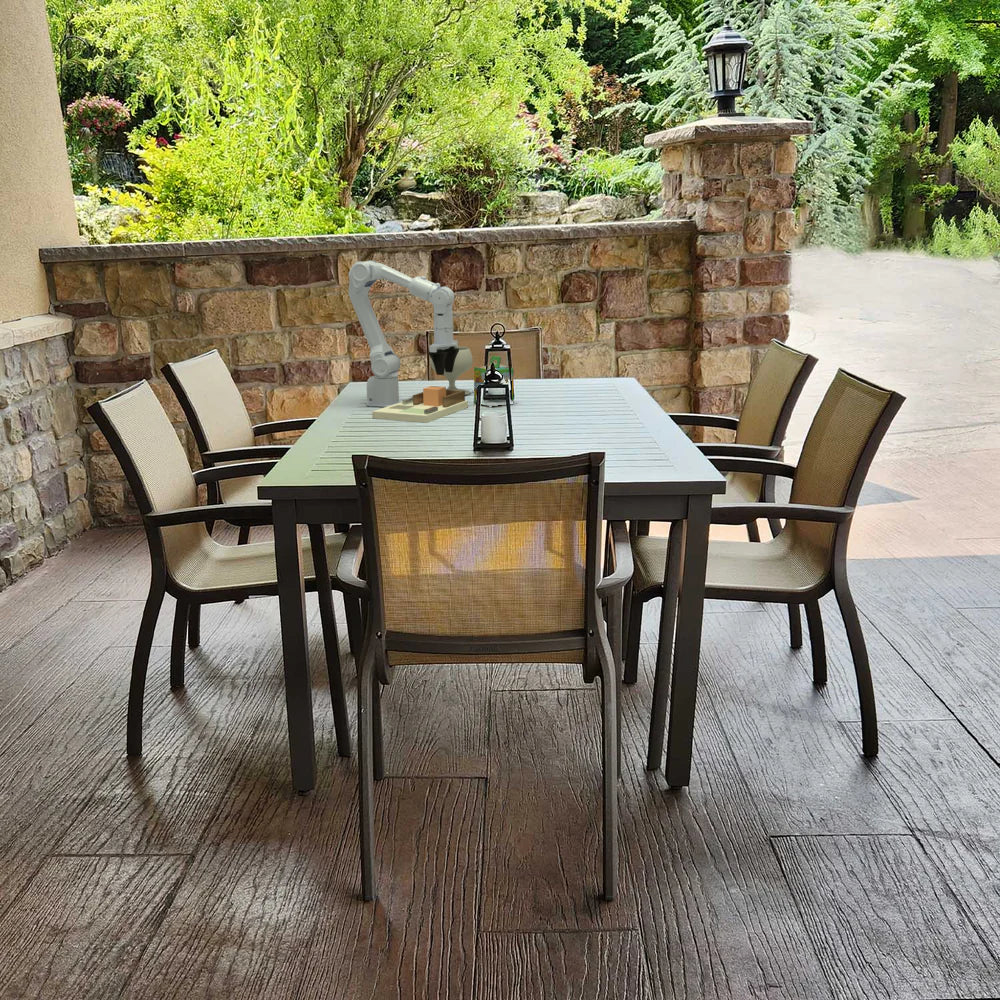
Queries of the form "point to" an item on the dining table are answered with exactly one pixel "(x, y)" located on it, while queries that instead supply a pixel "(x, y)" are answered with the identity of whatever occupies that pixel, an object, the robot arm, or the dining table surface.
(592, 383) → the dining table surface
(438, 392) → the cube
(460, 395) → the cubby
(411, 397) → the long grey rectangular bar
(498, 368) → the chalk box
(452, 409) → the deck
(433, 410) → the short rod
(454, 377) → the chalice
